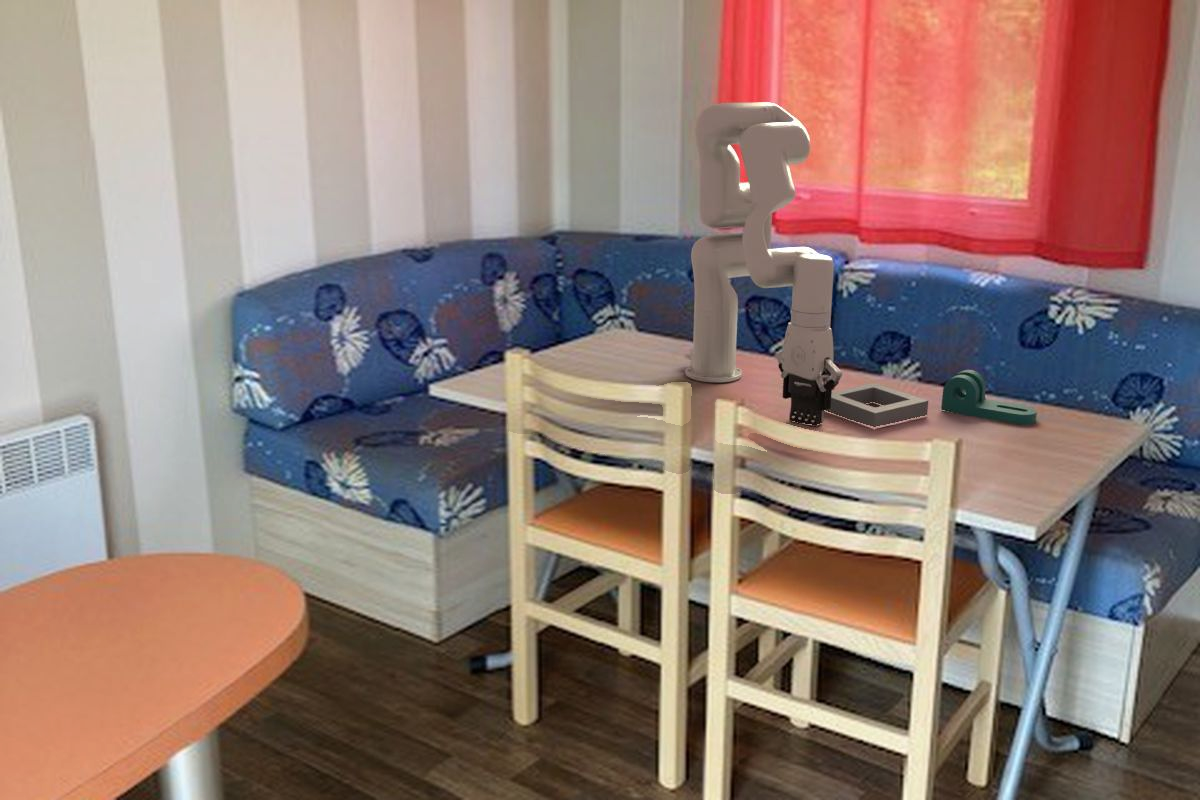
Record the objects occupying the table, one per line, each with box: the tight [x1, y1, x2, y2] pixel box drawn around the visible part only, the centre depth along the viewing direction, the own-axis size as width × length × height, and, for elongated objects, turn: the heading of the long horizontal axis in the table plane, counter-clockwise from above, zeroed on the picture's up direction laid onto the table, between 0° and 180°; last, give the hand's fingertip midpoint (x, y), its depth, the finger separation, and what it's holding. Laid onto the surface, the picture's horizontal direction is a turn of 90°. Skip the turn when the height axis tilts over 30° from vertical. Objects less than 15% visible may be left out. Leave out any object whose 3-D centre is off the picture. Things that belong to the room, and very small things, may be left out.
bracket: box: [940, 369, 1038, 426], centre depth 248 cm, size 18×7×8 cm, turn 57°
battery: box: [788, 374, 826, 425], centre depth 241 cm, size 7×4×11 cm, turn 55°
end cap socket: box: [826, 382, 929, 427], centre depth 248 cm, size 15×15×4 cm
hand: (806, 403), depth 241 cm, fingers open, 9 cm apart
